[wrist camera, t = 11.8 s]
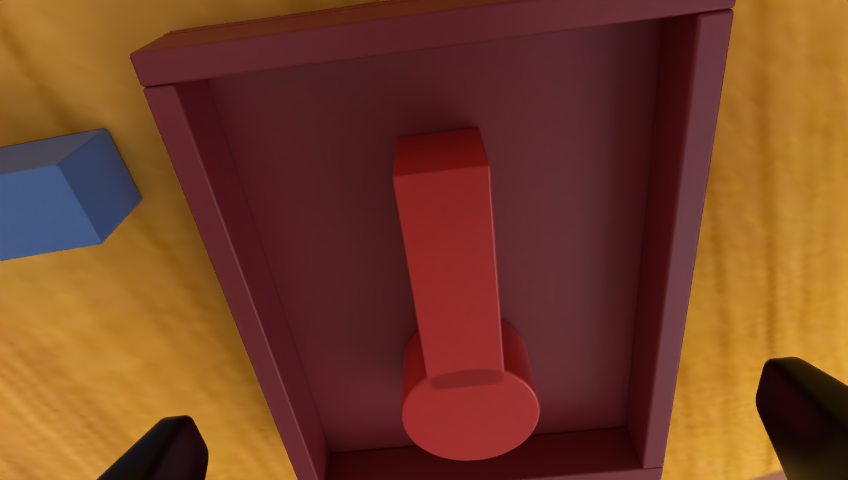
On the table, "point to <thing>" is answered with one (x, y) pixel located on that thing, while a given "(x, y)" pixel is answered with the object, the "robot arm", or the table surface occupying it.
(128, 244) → the table surface
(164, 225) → the table surface
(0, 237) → the blue spoon
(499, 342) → the red spoon
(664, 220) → the red tray
